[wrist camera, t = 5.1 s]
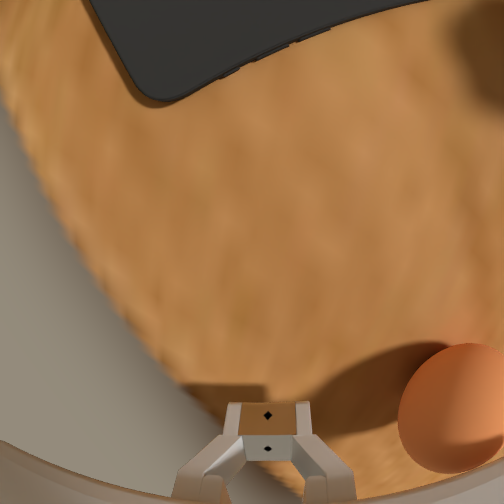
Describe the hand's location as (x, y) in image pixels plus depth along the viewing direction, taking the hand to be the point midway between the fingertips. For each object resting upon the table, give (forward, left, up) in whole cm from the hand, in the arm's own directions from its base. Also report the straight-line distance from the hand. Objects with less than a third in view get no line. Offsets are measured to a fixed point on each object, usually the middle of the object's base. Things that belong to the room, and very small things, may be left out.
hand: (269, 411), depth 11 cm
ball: (0, +8, +1) cm, 8 cm away
